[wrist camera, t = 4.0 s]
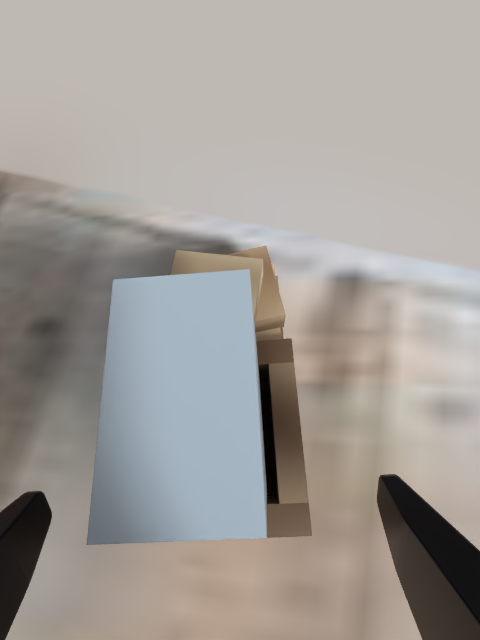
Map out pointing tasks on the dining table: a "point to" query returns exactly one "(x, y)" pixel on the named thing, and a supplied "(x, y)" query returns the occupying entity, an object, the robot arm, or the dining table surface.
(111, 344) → the light blue tall bar
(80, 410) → the dining table surface
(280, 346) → the rack
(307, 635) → the dining table surface
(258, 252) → the offcut stack
